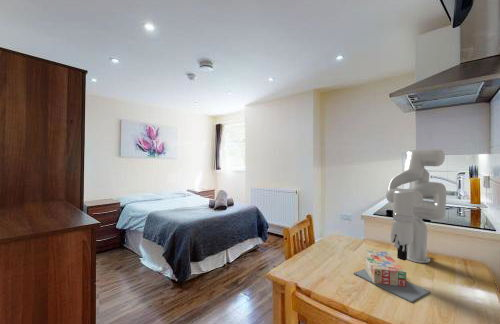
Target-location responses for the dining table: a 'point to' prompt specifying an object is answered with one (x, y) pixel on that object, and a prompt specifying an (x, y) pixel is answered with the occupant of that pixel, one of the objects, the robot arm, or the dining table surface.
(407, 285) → the mat
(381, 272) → the stack of blocks
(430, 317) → the dining table surface
